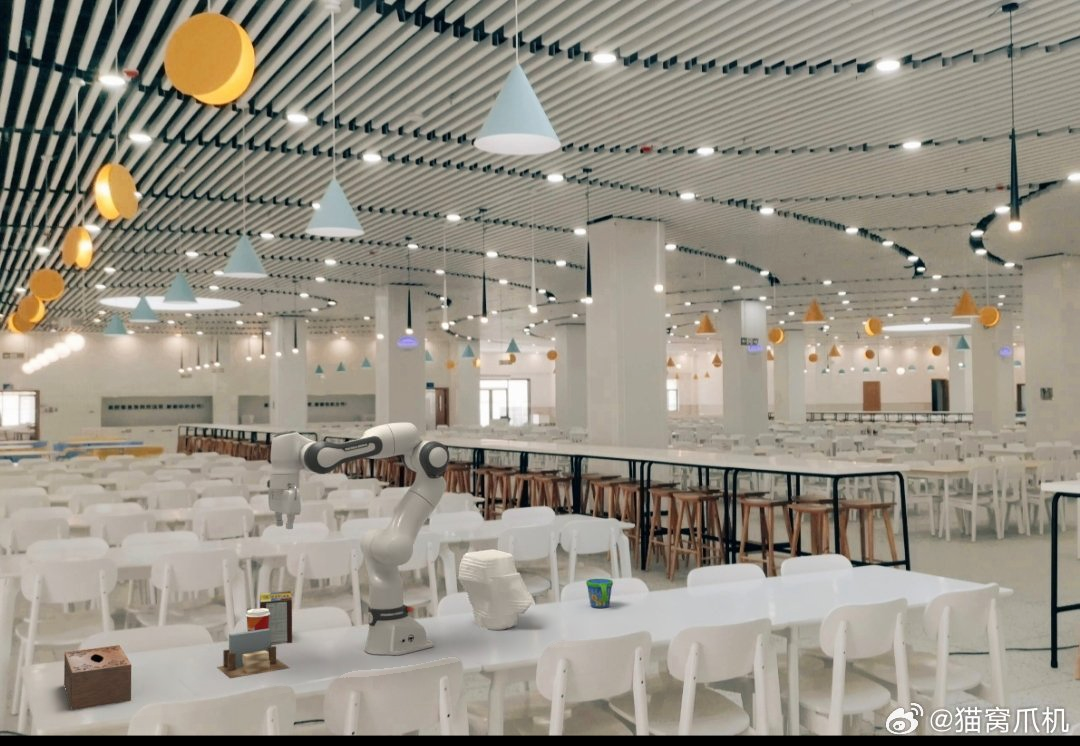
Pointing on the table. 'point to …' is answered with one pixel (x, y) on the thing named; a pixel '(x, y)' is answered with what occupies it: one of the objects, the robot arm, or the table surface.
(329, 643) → the table surface
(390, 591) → the robot arm
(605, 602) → the snack cup
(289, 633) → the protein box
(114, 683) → the tissue box cover
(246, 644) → the panel
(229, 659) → the rack
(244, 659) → the offcut upper
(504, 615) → the white faceted lump
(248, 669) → the offcut lower
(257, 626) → the paper cup
